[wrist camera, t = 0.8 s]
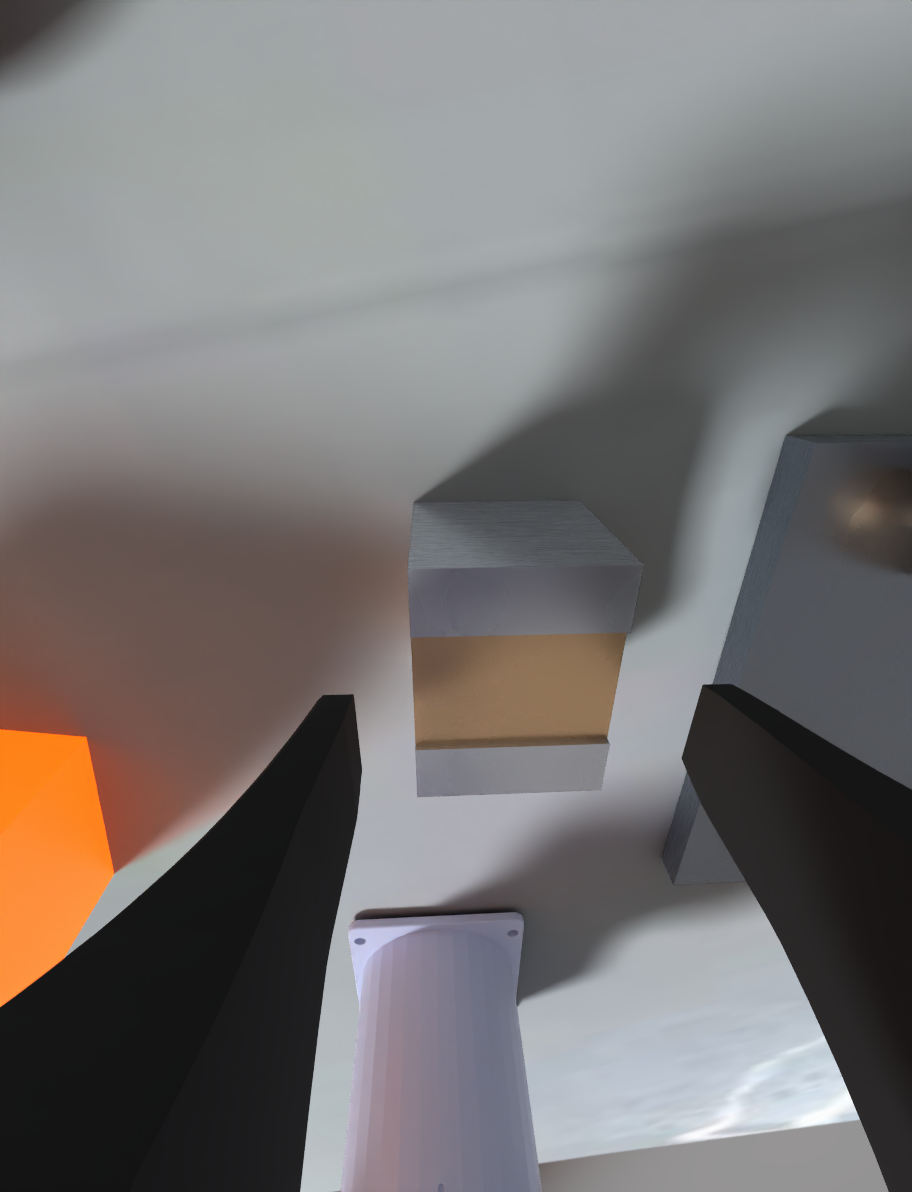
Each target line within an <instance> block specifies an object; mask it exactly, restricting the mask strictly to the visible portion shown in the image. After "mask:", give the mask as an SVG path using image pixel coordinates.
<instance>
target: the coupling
mask: <svg viewBox="0 0 912 1192" xmlns="http://www.w3.org/2000/svg"><path fill="white" fill-rule="evenodd" d="M643 567H644V565H643V564H642V563H641V562H640V561H639V560H638V559H637V558H636V557H635V556H634V555H633V554H632V553H631V552H630V551H629V550H628V549H627V548H626V547H625V546H624V545H623V544H622V543H621V542H620V541H619V540H618V539H617V538H616V537H615V536H614V535H613V534H612V533H611V532H610V531H609V530H608V529H607V528H606V527H605V526H604V525H603V524H602V523H601V522H600V521H599V520H598V519H597V518H596V517H595V516H594V515H593V514H592V513H591V512H590V511H589V510H588V509H587V508H586V507H585V506H584V505H583V504H582V503H581V502H580V501H480V502H414V504H413V515H412V526H411V537H410V548H409V559H408V590H409V613H410V636H411V648H412V672H413V695H414V719H415V742H416V748H415V752H416V776H417V797H434V796H460V795H486V794H512V793H538V792H564V791H590V790H601V787H602V782H603V777H604V771H605V766H606V761H607V756H608V750H609V745H610V743H609V741H608V739H607V736H608V731H609V725H610V720H611V715H612V709H613V704H614V698H615V693H616V688H617V682H618V677H619V672H620V666H621V661H622V655H623V650H624V645H625V639H626V634H627V633H631V630H632V624H633V619H634V614H635V609H636V603H637V598H638V593H639V588H640V582H641V577H642V572H643Z"/></svg>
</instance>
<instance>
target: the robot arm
mask: <svg viewBox="0 0 912 1192" xmlns="http://www.w3.org/2000/svg"><path fill="white" fill-rule="evenodd" d="M682 760H683V763H684V765H685V768H686V770H687V772H688V775H689V777H690V780H691V782H692V785H693V787H694V789H695V791H696V794H697V796H698V798H699V800H700V803H701V805H702V807H703V808H704V810H705V812H706V814H707V815H708V817H709V819H710V821H711V822H712V824H713V826H714V828H715V829H716V831H717V833H718V835H719V836H720V838H721V840H722V841H723V843H724V845H725V847H726V848H727V850H728V852H729V853H730V855H731V857H732V858H733V860H734V862H735V863H736V865H737V867H738V869H739V870H740V872H741V874H742V875H743V877H744V879H745V880H746V882H747V884H748V886H749V887H750V889H751V891H752V892H753V894H754V896H755V897H756V899H757V901H758V902H759V904H760V906H761V908H762V909H763V911H764V913H765V914H766V916H767V918H768V920H769V922H770V923H771V925H772V927H773V929H774V931H775V933H776V935H777V936H778V938H779V940H780V942H781V944H782V946H783V948H784V950H785V952H786V954H787V956H788V959H789V961H790V963H791V965H792V967H793V969H794V971H795V973H796V975H797V977H798V979H799V982H800V984H801V986H802V988H803V990H804V992H805V994H806V996H807V998H808V1000H809V1003H810V1005H811V1007H812V1009H813V1011H814V1014H815V1016H816V1018H817V1020H818V1023H819V1025H820V1027H821V1029H822V1032H823V1034H824V1036H825V1038H826V1041H827V1043H828V1045H829V1047H830V1049H831V1052H832V1054H833V1056H834V1058H835V1061H836V1063H837V1065H838V1067H839V1070H840V1072H841V1074H842V1077H843V1079H844V1082H845V1084H846V1086H847V1089H848V1091H849V1094H850V1096H851V1099H852V1101H853V1103H854V1106H855V1108H856V1111H857V1113H858V1115H859V1118H860V1120H861V1122H862V1125H863V1127H864V1130H865V1132H866V1135H867V1137H868V1139H869V1142H870V1144H871V1147H872V1149H873V1152H874V1154H875V1157H876V1159H877V1162H878V1164H879V1167H880V1170H881V1172H882V1175H883V1178H884V1180H885V1183H886V1185H887V1188H888V1191H889V1192H912V789H910V788H908V787H906V786H905V785H903V784H901V783H899V782H897V781H896V780H894V779H892V778H890V777H888V776H887V775H885V774H883V773H881V772H879V771H878V770H876V769H874V768H872V767H871V766H869V765H867V764H866V763H864V762H862V761H860V760H859V759H857V758H855V757H854V756H852V755H850V754H848V753H847V752H845V751H843V750H842V749H840V748H838V747H837V746H835V745H833V744H832V743H830V742H828V741H827V740H825V739H823V738H822V737H820V736H819V735H817V734H815V733H814V732H812V731H810V730H809V729H807V728H805V727H804V726H802V725H801V724H799V723H797V722H796V721H794V720H792V719H791V718H789V717H788V716H786V715H784V714H783V713H781V712H779V711H778V710H776V709H774V708H773V707H771V706H770V705H768V704H766V703H765V702H763V701H761V700H760V699H758V698H756V697H754V696H753V695H751V694H749V693H747V692H746V691H744V690H742V689H740V688H738V687H736V686H734V685H732V684H710V685H703V686H702V689H701V693H700V696H699V699H698V703H697V706H696V710H695V713H694V717H693V720H692V724H691V727H690V731H689V734H688V738H687V741H686V745H685V748H684V752H683V755H682ZM361 774H362V765H361V757H360V748H359V739H358V730H357V721H356V712H355V703H354V694H352V695H323V696H322V697H321V698H320V699H319V700H318V701H317V702H316V704H315V705H314V706H313V708H312V709H311V711H310V712H309V713H308V715H307V716H306V717H305V719H304V720H303V721H302V723H301V724H300V725H299V727H298V728H297V729H296V731H295V732H294V733H293V735H292V736H291V737H290V739H289V740H288V741H287V742H286V744H285V745H284V746H283V747H282V749H281V750H280V751H279V752H278V754H277V755H276V756H275V757H274V759H273V760H272V761H271V762H270V763H269V765H268V766H267V767H266V768H265V770H264V771H263V772H262V773H261V774H260V776H259V777H258V778H257V779H256V780H255V781H254V783H253V784H252V785H251V786H250V787H249V788H248V789H247V790H246V791H245V793H244V794H243V795H242V796H241V797H240V798H239V799H238V800H237V801H236V802H235V804H234V805H233V806H232V807H231V808H230V809H229V810H228V811H227V812H226V814H225V815H224V816H223V817H222V818H221V819H220V820H219V821H218V822H217V823H216V824H215V825H214V826H213V827H212V828H211V829H210V830H209V831H208V832H207V833H206V834H205V835H204V836H203V837H202V838H201V839H200V840H199V841H198V842H197V843H196V844H195V845H194V846H193V847H192V848H191V849H190V850H189V851H188V852H187V853H186V854H185V855H184V856H183V857H182V858H181V859H180V860H179V861H178V862H177V863H176V864H175V865H173V866H172V867H171V868H170V869H169V870H168V871H167V872H166V873H165V874H164V875H163V876H161V877H160V878H159V879H158V880H157V881H156V882H155V883H154V884H152V885H151V886H150V887H149V888H148V889H147V890H146V891H145V892H143V893H142V894H141V895H140V896H139V897H138V898H137V899H136V900H134V901H133V902H132V903H131V904H130V905H129V906H128V907H126V908H125V909H124V910H123V911H122V912H121V913H119V914H118V915H117V916H116V917H115V918H114V919H112V920H111V921H110V922H109V923H108V924H106V925H105V926H104V927H103V928H102V929H100V930H99V931H98V932H97V933H96V934H94V935H93V936H92V937H90V938H89V939H88V940H87V941H85V942H84V943H83V944H82V945H80V946H79V947H78V948H76V949H75V950H74V951H73V952H71V953H70V954H69V955H68V956H66V957H65V958H64V959H62V960H61V961H60V962H59V963H57V964H56V965H55V966H54V967H52V968H51V969H50V970H48V971H47V972H46V973H45V974H43V975H42V976H41V977H40V978H38V979H37V980H36V981H34V982H33V983H32V984H30V985H29V986H28V987H26V988H25V989H24V990H22V991H21V992H20V993H18V994H17V995H16V996H15V997H13V998H12V999H10V1000H9V1001H8V1002H6V1003H5V1004H4V1005H2V1006H1V1007H0V1192H300V1187H301V1178H302V1169H303V1160H304V1150H305V1141H306V1132H307V1123H308V1114H309V1105H310V1096H311V1088H312V1079H313V1071H314V1063H315V1054H316V1046H317V1037H318V1029H319V1021H320V1014H321V1006H322V998H323V990H324V982H325V975H326V967H327V961H328V955H329V950H330V944H331V938H332V934H333V929H334V924H335V920H336V915H337V910H338V906H339V901H340V896H341V892H342V887H343V882H344V878H345V873H346V868H347V864H348V859H349V854H350V849H351V845H352V840H353V835H354V830H355V826H356V821H357V814H358V804H359V795H360V784H361ZM523 931H524V921H523V916H522V915H521V914H519V913H517V912H506V913H486V914H466V915H446V916H426V917H406V918H386V919H366V920H356V921H354V922H352V923H351V924H350V925H349V932H348V937H349V943H350V949H351V955H352V962H353V968H354V974H355V980H356V987H357V993H358V999H359V1005H360V1009H359V1018H358V1028H357V1038H356V1047H355V1057H354V1067H353V1077H352V1086H351V1096H350V1106H349V1115H348V1125H347V1135H346V1144H345V1154H344V1164H343V1173H342V1183H341V1192H542V1189H541V1182H540V1174H539V1167H538V1159H537V1152H536V1144H535V1137H534V1130H533V1122H532V1115H531V1108H530V1100H529V1093H528V1085H527V1078H526V1071H525V1063H524V1056H523V1048H522V1041H521V1034H520V1026H519V1019H518V1011H517V1004H516V994H517V985H518V976H519V967H520V958H521V949H522V940H523Z"/></svg>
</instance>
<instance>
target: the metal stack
mask: <svg viewBox="0 0 912 1192" xmlns="http://www.w3.org/2000/svg"><path fill="white" fill-rule="evenodd" d="M713 684H732V685H734V686H736V687H738V688H740V689H742V690H744V691H746V692H747V693H749V694H751V695H753V696H754V697H756V698H758V699H760V700H761V701H763V702H765V703H766V704H768V705H770V706H771V707H773V708H774V709H776V710H778V711H779V712H781V713H783V714H784V715H786V716H788V717H789V718H791V719H792V720H794V721H796V722H797V723H799V724H801V725H802V726H804V727H805V728H807V729H809V730H810V731H812V732H814V733H815V734H817V735H819V736H820V737H822V738H823V739H825V740H827V741H828V742H830V743H832V744H833V745H835V746H837V747H838V748H840V749H842V750H843V751H845V752H847V753H848V754H850V755H852V756H854V757H855V758H857V759H859V760H860V761H862V762H864V763H866V764H867V765H869V766H871V767H872V768H874V769H876V770H878V771H879V772H881V773H883V774H885V775H887V776H888V777H890V778H892V779H894V780H896V781H897V782H899V783H901V784H903V785H905V786H906V787H908V788H910V789H912V435H857V436H785V440H784V443H783V447H782V450H781V454H780V457H779V460H778V464H777V467H776V471H775V474H774V477H773V481H772V484H771V488H770V491H769V494H768V498H767V501H766V505H765V508H764V512H763V515H762V518H761V522H760V525H759V529H758V532H757V535H756V539H755V542H754V546H753V549H752V552H751V556H750V559H749V563H748V566H747V569H746V573H745V576H744V580H743V583H742V587H741V590H740V593H739V597H738V600H737V604H736V607H735V610H734V614H733V617H732V621H731V624H730V627H729V631H728V634H727V638H726V641H725V645H724V648H723V651H722V655H721V658H720V662H719V665H718V668H717V672H716V675H715V679H714V682H713ZM662 860H663V862H664V865H665V867H666V869H667V871H668V873H669V875H670V878H671V880H672V882H673V884H674V885H682V884H703V883H724V882H745V881H746V880H745V879H744V877H743V875H742V874H741V872H740V870H739V869H738V867H737V865H736V863H735V862H734V860H733V858H732V857H731V855H730V853H729V852H728V850H727V848H726V847H725V845H724V843H723V841H722V840H721V838H720V836H719V835H718V833H717V831H716V829H715V828H714V826H713V824H712V822H711V821H710V819H709V817H708V815H707V814H706V812H705V810H704V808H703V807H702V805H701V803H700V800H699V798H698V796H697V794H696V791H695V789H694V787H693V785H692V782H691V780H690V777H689V775H688V772H687V774H686V778H685V781H684V784H683V788H682V791H681V795H680V798H679V801H678V805H677V808H676V812H675V815H674V818H673V822H672V825H671V829H670V832H669V835H668V839H667V842H666V846H665V849H664V853H663V856H662Z"/></svg>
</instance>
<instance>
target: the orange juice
mask: <svg viewBox="0 0 912 1192" xmlns="http://www.w3.org/2000/svg"><path fill="white" fill-rule="evenodd" d="M113 875H114V871H113V866H112V861H111V856H110V851H109V846H108V841H107V836H106V831H105V826H104V821H103V816H102V811H101V807H100V802H99V797H98V792H97V787H96V782H95V777H94V772H93V767H92V762H91V757H90V752H89V747H88V743H87V738H86V737H79V736H68V735H57V734H46V733H34V732H23V731H12V730H1V729H0V1007H1V1006H2V1005H4V1004H5V1003H6V1002H8V1001H9V1000H10V999H12V998H13V997H15V996H16V995H17V994H18V993H20V992H21V991H22V990H24V989H25V988H26V987H28V986H29V985H30V984H32V983H33V982H34V981H36V980H37V979H38V978H40V977H41V976H42V975H43V974H45V973H46V972H47V971H48V970H50V969H51V968H52V967H54V966H55V965H56V964H57V963H59V962H60V961H61V960H62V959H64V957H65V955H66V954H67V952H68V950H69V948H70V947H71V945H72V943H73V942H74V940H75V938H76V937H77V935H78V933H79V932H80V930H81V928H82V927H83V925H84V923H85V922H86V920H87V918H88V917H89V915H90V913H91V912H92V910H93V908H94V907H95V905H96V903H97V902H98V900H99V898H100V897H101V895H102V893H103V892H104V890H105V888H106V887H107V885H108V883H109V882H110V880H111V878H112V876H113Z"/></svg>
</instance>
